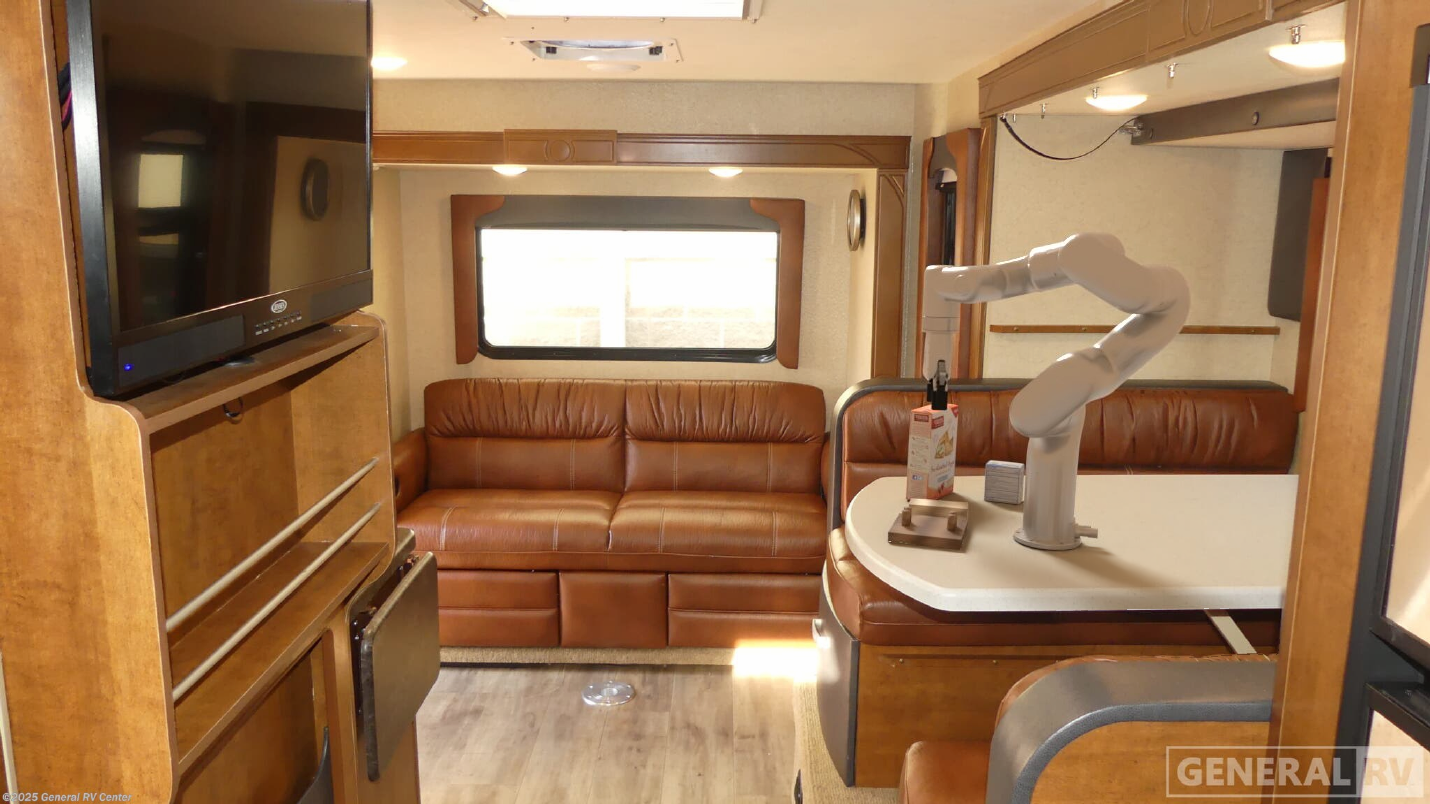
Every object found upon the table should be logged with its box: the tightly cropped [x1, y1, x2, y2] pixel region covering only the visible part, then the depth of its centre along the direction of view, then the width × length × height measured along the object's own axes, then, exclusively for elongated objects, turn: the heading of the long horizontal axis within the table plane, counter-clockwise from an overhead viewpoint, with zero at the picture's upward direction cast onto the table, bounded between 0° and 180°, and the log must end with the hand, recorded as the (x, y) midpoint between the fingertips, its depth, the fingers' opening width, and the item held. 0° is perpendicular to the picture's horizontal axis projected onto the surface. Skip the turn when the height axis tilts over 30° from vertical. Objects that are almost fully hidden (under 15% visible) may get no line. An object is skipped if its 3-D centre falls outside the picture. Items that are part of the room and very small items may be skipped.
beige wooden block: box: [908, 498, 969, 521], centre depth 213 cm, size 12×5×4 cm, turn 74°
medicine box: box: [983, 460, 1025, 505], centre depth 229 cm, size 8×4×9 cm, turn 63°
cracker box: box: [905, 403, 960, 501], centre depth 231 cm, size 14×6×21 cm, turn 143°
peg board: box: [887, 506, 969, 550], centre depth 203 cm, size 14×14×5 cm
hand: (936, 405), depth 214 cm, fingers open, 9 cm apart
